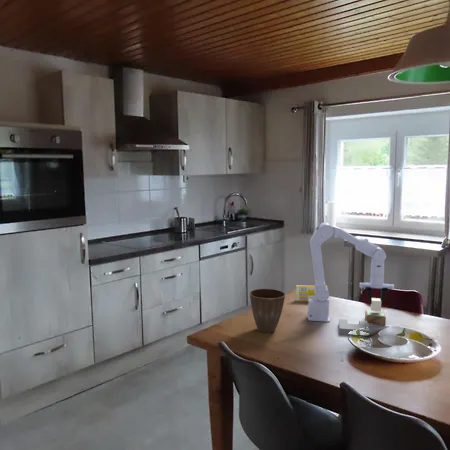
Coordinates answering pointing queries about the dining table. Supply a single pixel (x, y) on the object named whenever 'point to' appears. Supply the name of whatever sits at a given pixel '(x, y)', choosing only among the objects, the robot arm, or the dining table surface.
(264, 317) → the plant pot
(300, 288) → the candy box
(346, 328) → the slate notch board
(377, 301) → the cream block
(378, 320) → the walnut stand
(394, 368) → the dining table surface
